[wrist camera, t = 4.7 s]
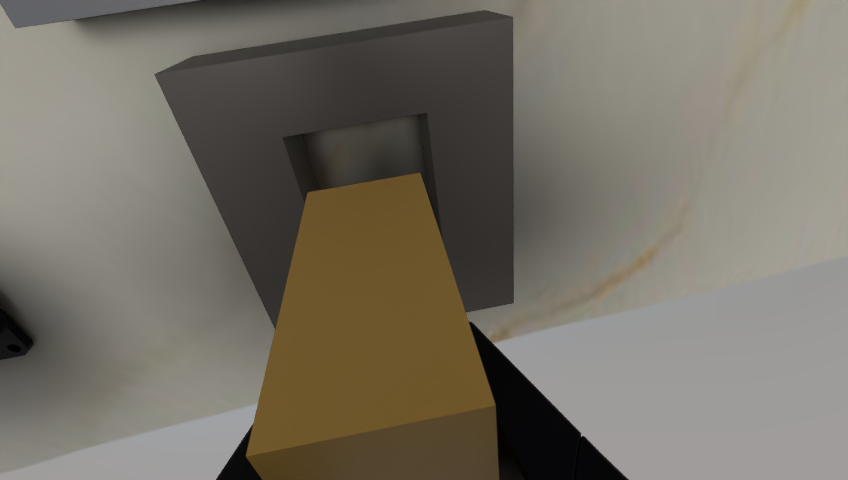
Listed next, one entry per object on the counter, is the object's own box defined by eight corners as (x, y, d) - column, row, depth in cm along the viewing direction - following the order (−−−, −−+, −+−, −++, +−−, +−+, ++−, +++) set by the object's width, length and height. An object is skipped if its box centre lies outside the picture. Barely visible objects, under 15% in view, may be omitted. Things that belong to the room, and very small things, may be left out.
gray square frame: (293, 300, 19) (283, 347, 17) (192, 56, 13) (154, 74, 11) (494, 262, 20) (513, 303, 17) (484, 10, 14) (512, 17, 11)
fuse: (350, 326, 13) (345, 596, 7) (307, 192, 10) (246, 457, 5) (439, 309, 13) (502, 562, 8) (420, 172, 11) (495, 405, 5)
